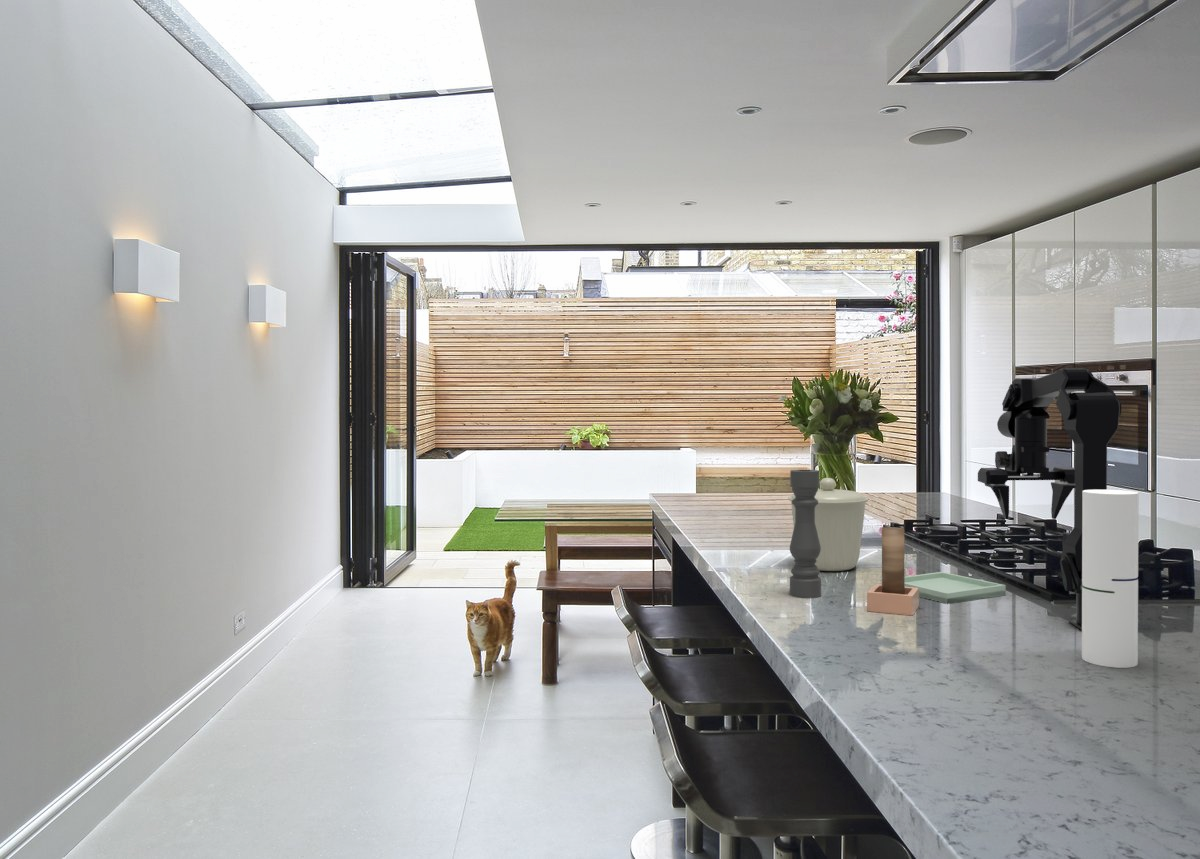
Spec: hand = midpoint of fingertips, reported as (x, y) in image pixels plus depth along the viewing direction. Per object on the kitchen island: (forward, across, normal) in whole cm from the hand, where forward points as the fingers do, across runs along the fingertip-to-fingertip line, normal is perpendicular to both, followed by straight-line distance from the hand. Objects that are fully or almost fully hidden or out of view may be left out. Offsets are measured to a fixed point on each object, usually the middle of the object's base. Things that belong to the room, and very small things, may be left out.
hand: (1029, 518), depth 176 cm
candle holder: (+15, +45, +4) cm, 47 cm away
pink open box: (+14, +30, +15) cm, 37 cm away
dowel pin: (+14, +30, +15) cm, 37 cm away
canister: (+16, +35, -26) cm, 47 cm away
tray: (+15, +17, 0) cm, 22 cm away
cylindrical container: (+14, +7, +48) cm, 50 cm away
